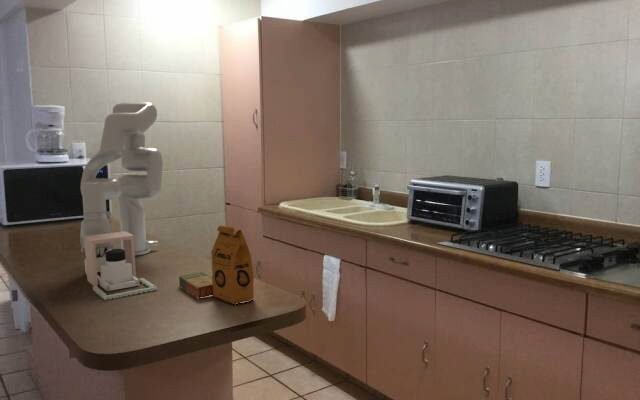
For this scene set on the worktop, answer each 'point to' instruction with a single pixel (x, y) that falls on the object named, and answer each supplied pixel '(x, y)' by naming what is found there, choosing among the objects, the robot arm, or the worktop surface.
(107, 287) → the rack
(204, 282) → the carton
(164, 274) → the worktop surface
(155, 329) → the worktop surface
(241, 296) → the coffee package
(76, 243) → the worktop surface
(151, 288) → the frame
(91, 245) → the cubby
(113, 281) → the medicine bottle
